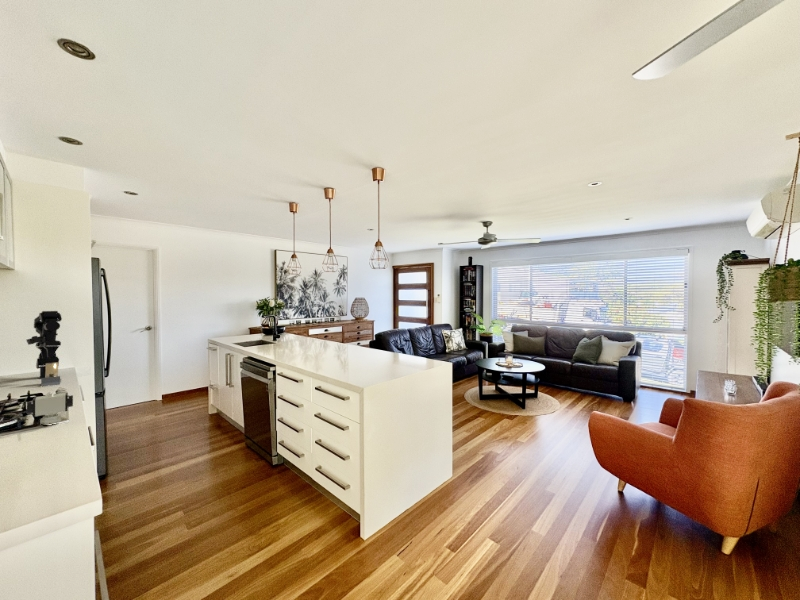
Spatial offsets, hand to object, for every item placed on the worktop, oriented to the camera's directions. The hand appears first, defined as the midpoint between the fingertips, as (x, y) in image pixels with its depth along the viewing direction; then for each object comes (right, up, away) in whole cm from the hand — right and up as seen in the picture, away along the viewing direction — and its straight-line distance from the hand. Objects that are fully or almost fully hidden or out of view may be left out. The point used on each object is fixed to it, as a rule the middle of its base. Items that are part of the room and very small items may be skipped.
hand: (46, 358), depth 186 cm
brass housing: (+9, -12, -6) cm, 16 cm away
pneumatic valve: (+73, -14, -64) cm, 98 cm away
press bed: (+10, -13, -6) cm, 18 cm away
